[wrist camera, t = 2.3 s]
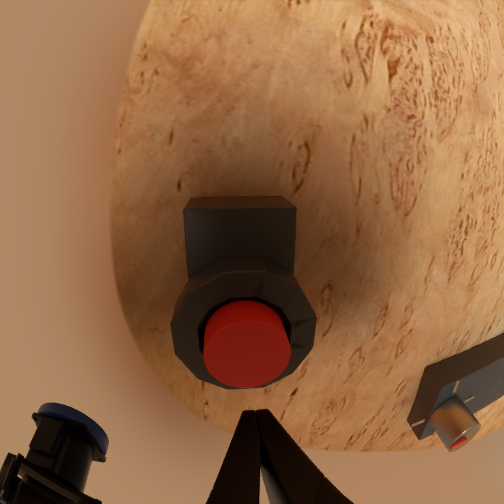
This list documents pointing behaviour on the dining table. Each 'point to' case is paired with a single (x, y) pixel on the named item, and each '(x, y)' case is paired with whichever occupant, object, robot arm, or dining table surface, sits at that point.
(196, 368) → the power button base
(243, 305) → the power button
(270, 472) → the robot arm
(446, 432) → the dial
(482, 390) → the panel
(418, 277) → the dining table surface
